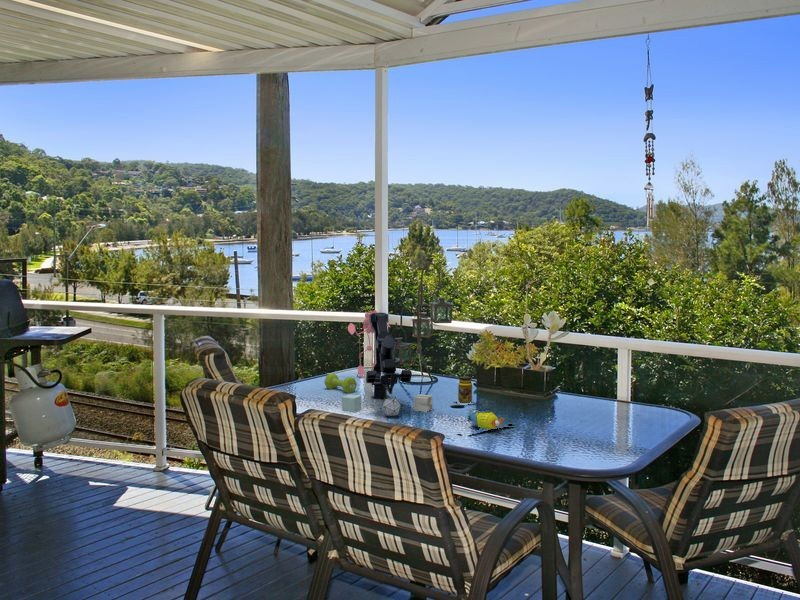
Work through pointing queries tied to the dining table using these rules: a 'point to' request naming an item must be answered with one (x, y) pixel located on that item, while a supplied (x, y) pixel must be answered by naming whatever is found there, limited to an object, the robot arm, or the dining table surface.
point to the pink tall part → (368, 325)
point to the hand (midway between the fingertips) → (390, 393)
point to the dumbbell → (340, 383)
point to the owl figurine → (484, 419)
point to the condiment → (465, 389)
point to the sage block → (351, 403)
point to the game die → (391, 407)
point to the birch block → (422, 403)
